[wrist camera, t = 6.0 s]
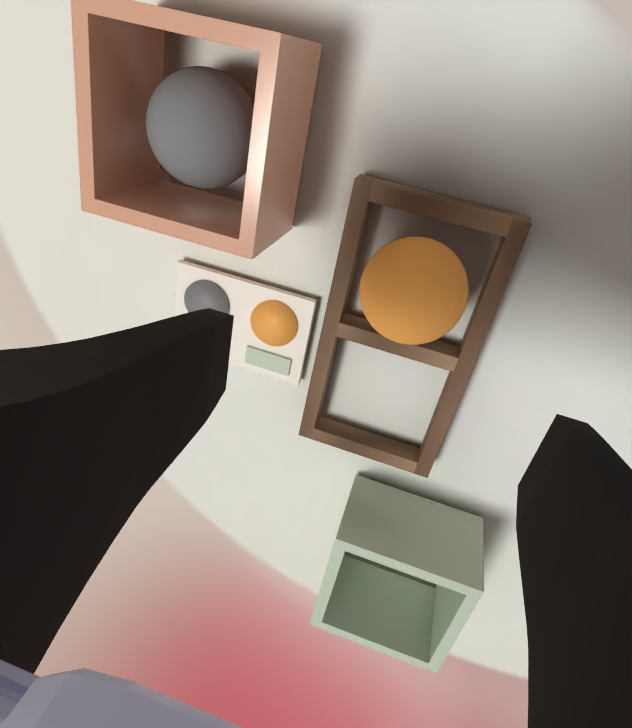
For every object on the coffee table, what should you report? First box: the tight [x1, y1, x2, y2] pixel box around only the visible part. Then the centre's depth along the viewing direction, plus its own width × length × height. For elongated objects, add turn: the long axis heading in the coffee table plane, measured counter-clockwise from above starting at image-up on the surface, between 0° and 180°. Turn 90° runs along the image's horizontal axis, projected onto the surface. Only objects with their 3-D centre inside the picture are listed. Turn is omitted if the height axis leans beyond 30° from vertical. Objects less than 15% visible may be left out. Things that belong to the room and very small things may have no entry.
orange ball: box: [359, 236, 469, 345], centre depth 17 cm, size 4×4×4 cm
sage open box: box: [310, 475, 484, 673], centre depth 23 cm, size 6×6×4 cm
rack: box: [299, 174, 532, 478], centre depth 20 cm, size 6×11×1 cm, turn 169°
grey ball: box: [146, 66, 254, 189], centre depth 17 cm, size 4×4×4 cm
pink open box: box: [71, 0, 323, 259], centre depth 16 cm, size 6×6×4 cm
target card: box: [174, 260, 317, 385], centre depth 22 cm, size 6×4×1 cm, turn 79°
